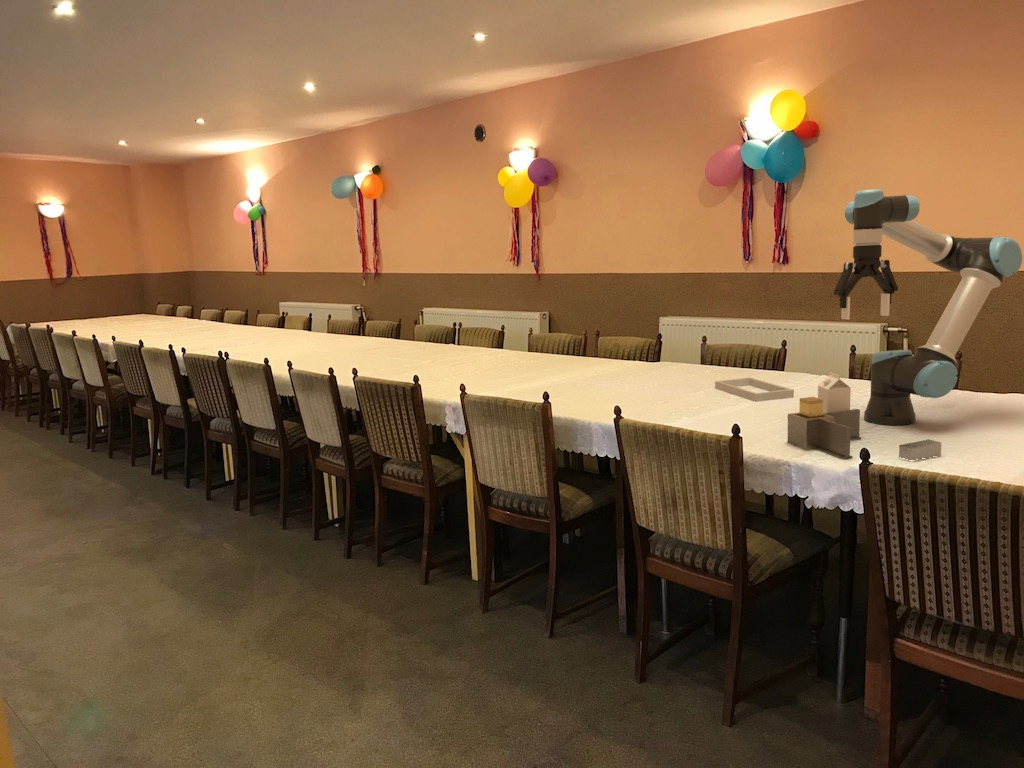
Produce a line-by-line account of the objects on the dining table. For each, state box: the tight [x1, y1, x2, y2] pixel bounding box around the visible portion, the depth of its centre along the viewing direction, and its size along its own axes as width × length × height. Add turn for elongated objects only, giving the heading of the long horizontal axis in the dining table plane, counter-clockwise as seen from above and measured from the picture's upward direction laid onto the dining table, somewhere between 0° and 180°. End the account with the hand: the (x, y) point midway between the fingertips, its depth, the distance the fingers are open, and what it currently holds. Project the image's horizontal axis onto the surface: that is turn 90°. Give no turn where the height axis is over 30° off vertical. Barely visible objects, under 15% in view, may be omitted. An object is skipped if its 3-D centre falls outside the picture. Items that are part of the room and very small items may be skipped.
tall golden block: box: [798, 396, 823, 419], centre depth 222 cm, size 5×5×14 cm
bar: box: [898, 438, 942, 460], centre depth 206 cm, size 11×4×4 cm, turn 111°
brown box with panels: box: [787, 408, 862, 461], centre depth 219 cm, size 21×21×9 cm
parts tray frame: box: [714, 377, 795, 403], centre depth 300 cm, size 16×30×3 cm, turn 14°
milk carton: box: [817, 371, 852, 413], centre depth 233 cm, size 7×7×19 cm
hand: (865, 317), depth 221 cm, fingers open, 13 cm apart
